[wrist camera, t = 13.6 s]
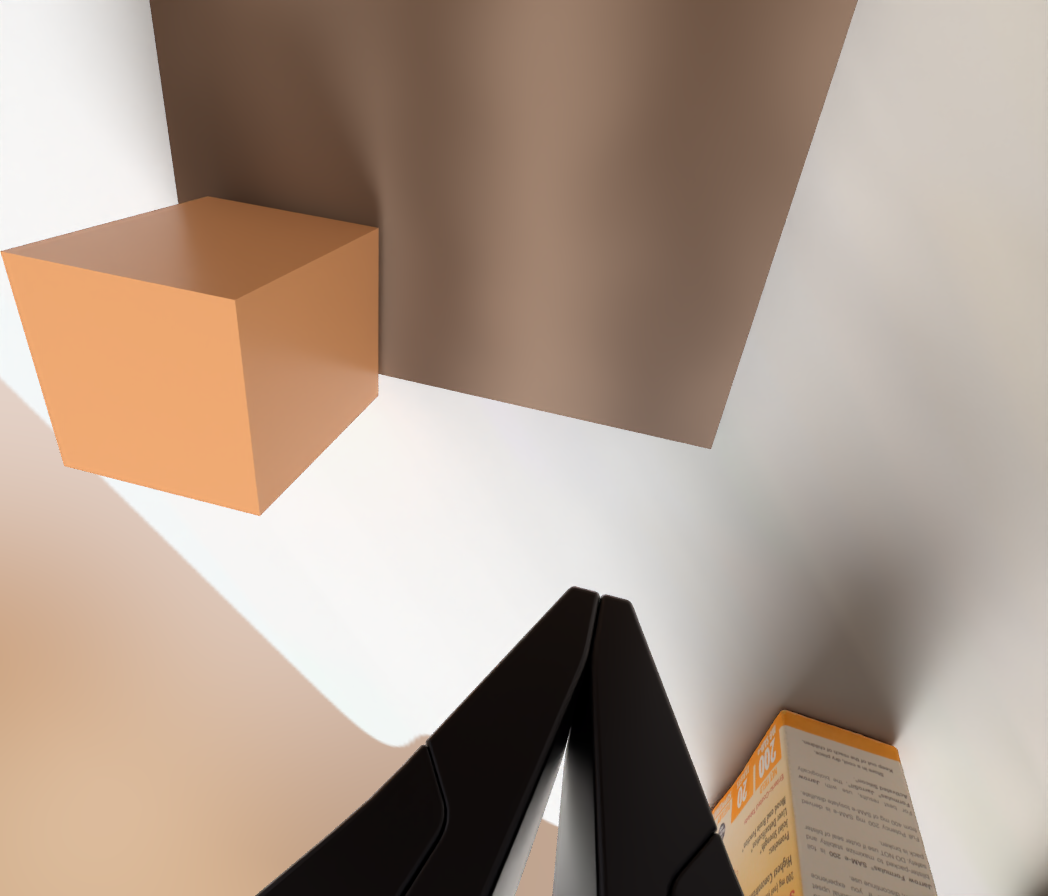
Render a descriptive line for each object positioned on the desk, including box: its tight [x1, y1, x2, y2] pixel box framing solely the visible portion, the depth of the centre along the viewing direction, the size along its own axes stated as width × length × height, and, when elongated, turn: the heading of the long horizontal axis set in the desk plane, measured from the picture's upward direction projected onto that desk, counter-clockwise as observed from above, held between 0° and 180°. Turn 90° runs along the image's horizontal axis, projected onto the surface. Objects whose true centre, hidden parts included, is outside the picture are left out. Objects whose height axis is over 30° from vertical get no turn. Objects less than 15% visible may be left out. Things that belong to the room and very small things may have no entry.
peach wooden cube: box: [1, 196, 379, 516], centre depth 17 cm, size 5×5×7 cm
